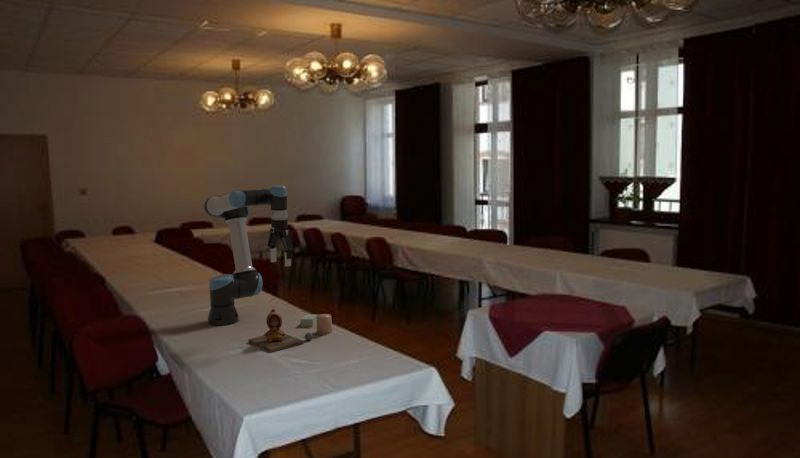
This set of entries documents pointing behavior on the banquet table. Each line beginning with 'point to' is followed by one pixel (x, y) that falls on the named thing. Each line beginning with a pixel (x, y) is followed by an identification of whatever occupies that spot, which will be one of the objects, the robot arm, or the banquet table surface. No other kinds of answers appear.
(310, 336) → the ball
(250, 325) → the banquet table surface
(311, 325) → the block
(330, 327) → the brown rounded cylinder
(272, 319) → the figurine
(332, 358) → the banquet table surface
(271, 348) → the board
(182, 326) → the banquet table surface
